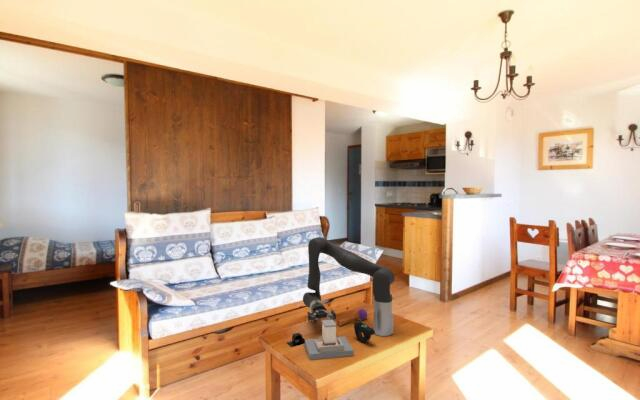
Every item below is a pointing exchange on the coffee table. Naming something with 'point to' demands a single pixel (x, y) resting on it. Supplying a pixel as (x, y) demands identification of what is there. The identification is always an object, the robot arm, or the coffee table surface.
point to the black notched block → (296, 340)
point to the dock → (328, 349)
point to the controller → (363, 331)
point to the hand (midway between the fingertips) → (324, 321)
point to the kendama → (354, 317)
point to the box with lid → (329, 332)
